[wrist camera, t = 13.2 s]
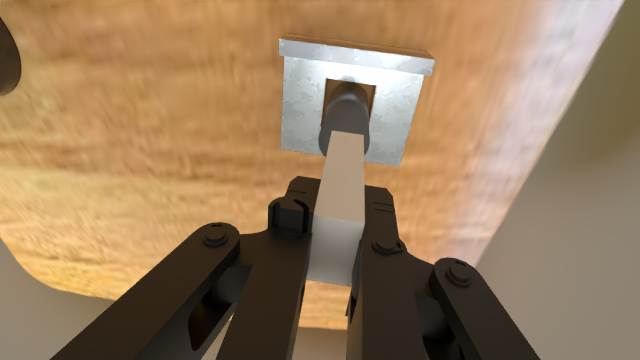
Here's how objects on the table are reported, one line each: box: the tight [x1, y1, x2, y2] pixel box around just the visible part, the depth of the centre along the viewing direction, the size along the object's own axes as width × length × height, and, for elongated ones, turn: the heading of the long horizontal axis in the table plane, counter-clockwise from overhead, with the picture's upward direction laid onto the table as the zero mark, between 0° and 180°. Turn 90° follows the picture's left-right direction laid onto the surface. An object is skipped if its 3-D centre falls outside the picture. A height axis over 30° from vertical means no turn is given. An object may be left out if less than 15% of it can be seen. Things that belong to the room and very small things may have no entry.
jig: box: [279, 33, 435, 167], centre depth 38 cm, size 16×14×6 cm
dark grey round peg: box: [318, 82, 370, 157], centre depth 35 cm, size 5×5×13 cm
